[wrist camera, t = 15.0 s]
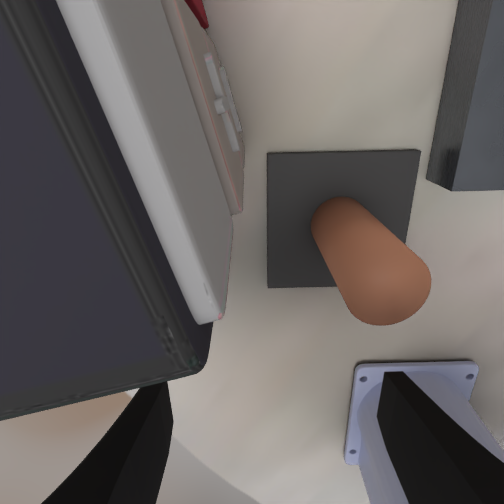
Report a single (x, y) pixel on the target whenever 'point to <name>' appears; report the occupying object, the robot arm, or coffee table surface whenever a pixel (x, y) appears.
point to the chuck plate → (472, 103)
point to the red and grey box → (111, 197)
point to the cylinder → (369, 263)
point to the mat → (322, 189)
